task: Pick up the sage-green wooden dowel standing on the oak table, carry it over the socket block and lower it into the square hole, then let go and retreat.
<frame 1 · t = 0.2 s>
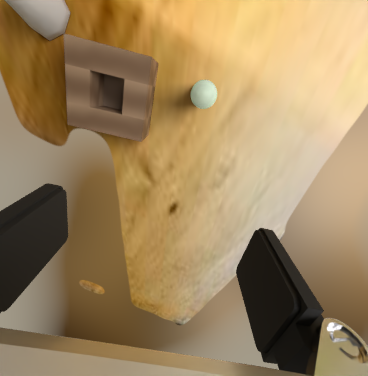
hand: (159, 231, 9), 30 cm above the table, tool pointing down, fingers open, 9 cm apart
socket block: (119, 93, 34), on the table
flask: (47, 10, 29), on the table
peg: (200, 94, 34), on the table
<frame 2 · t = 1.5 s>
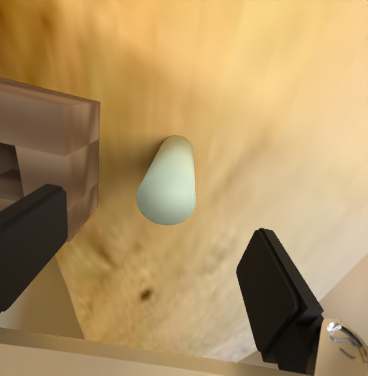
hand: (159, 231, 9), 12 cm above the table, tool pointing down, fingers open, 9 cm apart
socket block: (41, 148, 20), on the table
peg: (176, 151, 20), on the table
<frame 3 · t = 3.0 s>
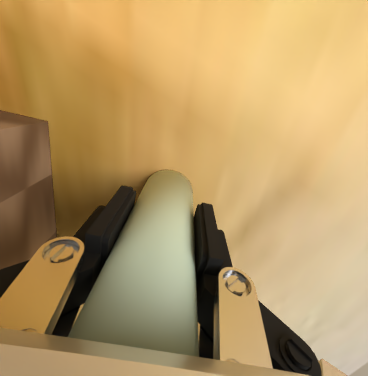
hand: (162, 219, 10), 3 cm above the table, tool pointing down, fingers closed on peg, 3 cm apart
peg: (168, 192, 13), on the table, touching gripper
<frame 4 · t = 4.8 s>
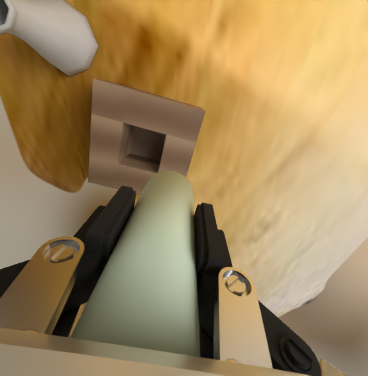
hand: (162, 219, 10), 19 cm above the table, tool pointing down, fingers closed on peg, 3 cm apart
socket block: (150, 139, 28), on the table
flask: (68, 41, 23), on the table
peg: (168, 193, 13), point 16 cm above the table, touching gripper
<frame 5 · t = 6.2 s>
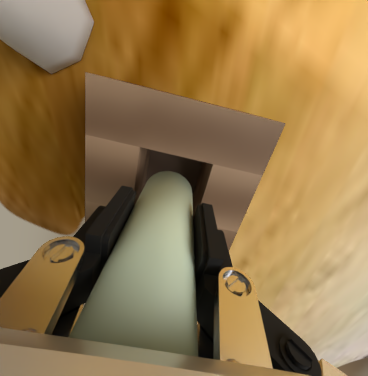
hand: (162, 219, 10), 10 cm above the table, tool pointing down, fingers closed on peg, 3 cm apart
socket block: (175, 162, 19), on the table
flask: (46, 17, 15), on the table
peg: (168, 193, 13), point 6 cm above the table, touching gripper
when the fingers open (7 cm above the table, at t = 7.0 s): peg drops 2 cm, resting on socket block.
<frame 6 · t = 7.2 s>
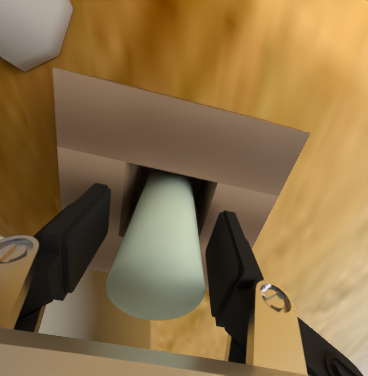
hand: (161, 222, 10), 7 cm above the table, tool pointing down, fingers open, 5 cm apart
socket block: (172, 174, 17), on the table
flask: (16, 3, 12), on the table
peg: (170, 178, 16), point 1 cm above the table, touching socket block
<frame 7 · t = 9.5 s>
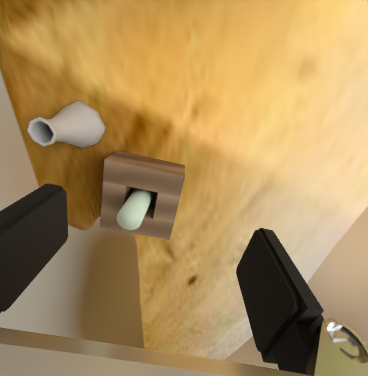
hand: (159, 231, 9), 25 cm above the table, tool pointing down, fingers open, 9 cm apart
socket block: (146, 188, 36), on the table
flask: (83, 125, 32), on the table
peg: (145, 190, 35), point 1 cm above the table, touching socket block
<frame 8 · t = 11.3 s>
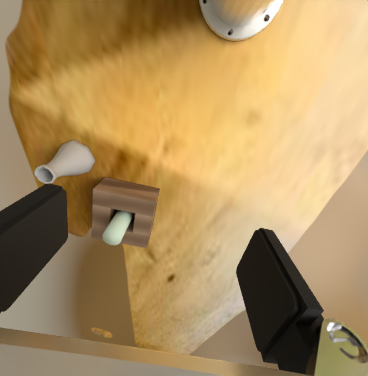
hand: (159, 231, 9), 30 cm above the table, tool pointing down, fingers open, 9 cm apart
socket block: (130, 205, 44), on the table
flask: (78, 157, 40), on the table
peg: (128, 208, 43), point 1 cm above the table, touching socket block
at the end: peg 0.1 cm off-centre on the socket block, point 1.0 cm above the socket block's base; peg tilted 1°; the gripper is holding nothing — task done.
